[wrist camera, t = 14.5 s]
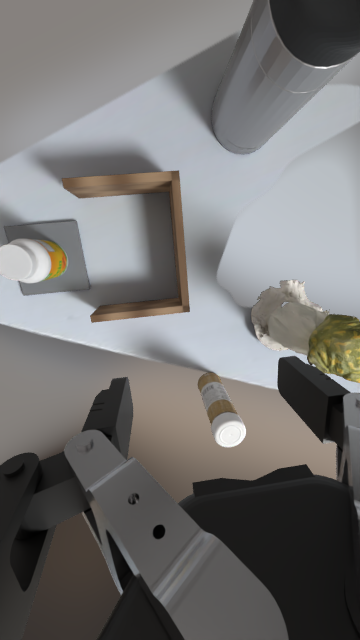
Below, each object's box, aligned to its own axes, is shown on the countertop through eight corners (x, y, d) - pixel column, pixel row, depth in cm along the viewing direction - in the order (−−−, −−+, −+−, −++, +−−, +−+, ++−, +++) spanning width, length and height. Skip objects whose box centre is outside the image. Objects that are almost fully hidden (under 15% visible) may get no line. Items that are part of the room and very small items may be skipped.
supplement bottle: (57, 284, 37) (23, 296, 27) (24, 263, 35) (-23, 267, 26) (76, 256, 36) (47, 258, 26) (42, 232, 34) (0, 226, 25)
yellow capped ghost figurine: (277, 361, 45) (355, 432, 28) (235, 314, 42) (294, 362, 24) (328, 318, 44) (444, 364, 26) (289, 266, 40) (394, 279, 22)
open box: (175, 183, 35) (179, 170, 29) (184, 302, 40) (189, 311, 34) (77, 190, 34) (61, 178, 28) (101, 311, 39) (91, 322, 33)
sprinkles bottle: (202, 396, 46) (221, 453, 33) (193, 377, 44) (209, 430, 31) (224, 386, 45) (251, 440, 33) (215, 367, 44) (240, 416, 31)
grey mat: (76, 221, 35) (75, 220, 34) (90, 288, 38) (89, 289, 37) (6, 226, 34) (3, 226, 34) (25, 295, 37) (23, 295, 36)
